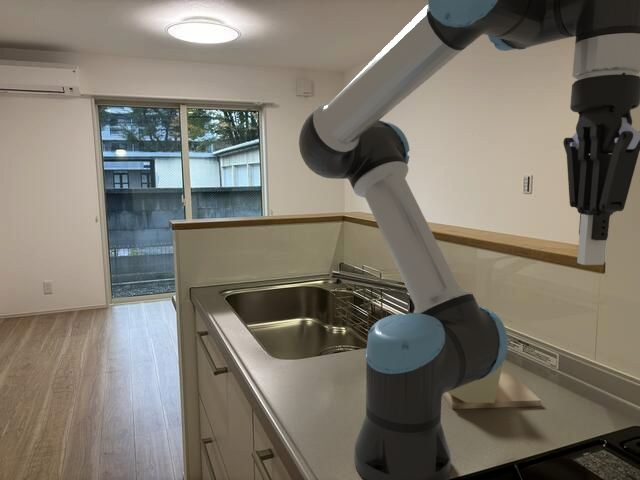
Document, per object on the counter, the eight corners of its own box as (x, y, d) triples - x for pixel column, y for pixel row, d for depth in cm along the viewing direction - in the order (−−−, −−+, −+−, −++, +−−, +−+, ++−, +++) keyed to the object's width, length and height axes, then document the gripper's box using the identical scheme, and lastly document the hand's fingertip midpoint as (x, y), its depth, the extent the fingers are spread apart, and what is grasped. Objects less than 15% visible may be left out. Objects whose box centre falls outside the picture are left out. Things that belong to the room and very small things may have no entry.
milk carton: (502, 364, 91) (482, 333, 111) (454, 355, 92) (442, 326, 112) (493, 408, 92) (474, 370, 112) (445, 399, 94) (435, 362, 113)
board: (451, 408, 93) (452, 403, 93) (428, 374, 109) (428, 369, 109) (540, 406, 94) (540, 400, 94) (504, 372, 110) (504, 367, 110)
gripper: (677, 67, 53) (655, 274, 56) (601, 87, 66) (587, 254, 69) (612, 66, 52) (594, 275, 56) (548, 86, 65) (537, 255, 69)
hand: (590, 263), depth 62 cm, fingers closed
